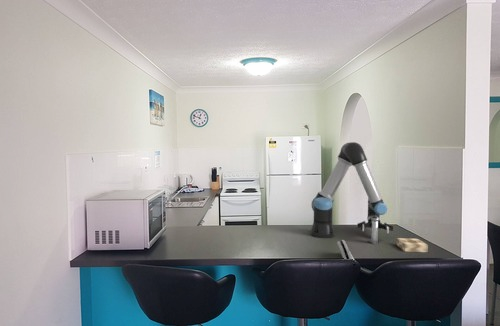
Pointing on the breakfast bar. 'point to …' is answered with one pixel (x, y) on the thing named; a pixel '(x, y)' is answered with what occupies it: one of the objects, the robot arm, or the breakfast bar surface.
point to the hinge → (344, 250)
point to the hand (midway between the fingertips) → (375, 230)
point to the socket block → (412, 245)
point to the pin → (374, 230)
